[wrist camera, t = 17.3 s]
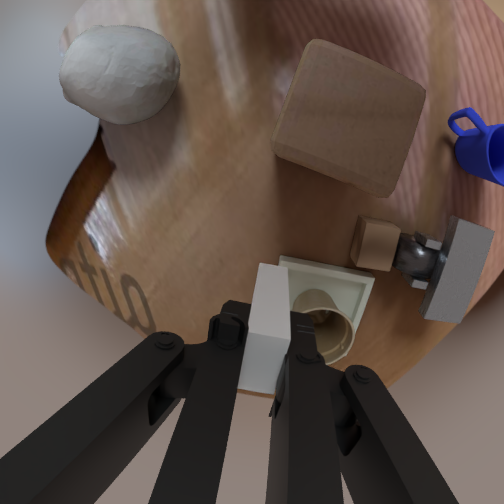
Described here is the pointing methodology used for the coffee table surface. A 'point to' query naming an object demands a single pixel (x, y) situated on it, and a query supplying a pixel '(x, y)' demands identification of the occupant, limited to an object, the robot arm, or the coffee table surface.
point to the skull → (120, 73)
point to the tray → (330, 284)
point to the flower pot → (327, 324)
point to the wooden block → (348, 118)
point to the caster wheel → (444, 267)
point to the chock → (374, 243)
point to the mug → (479, 147)
